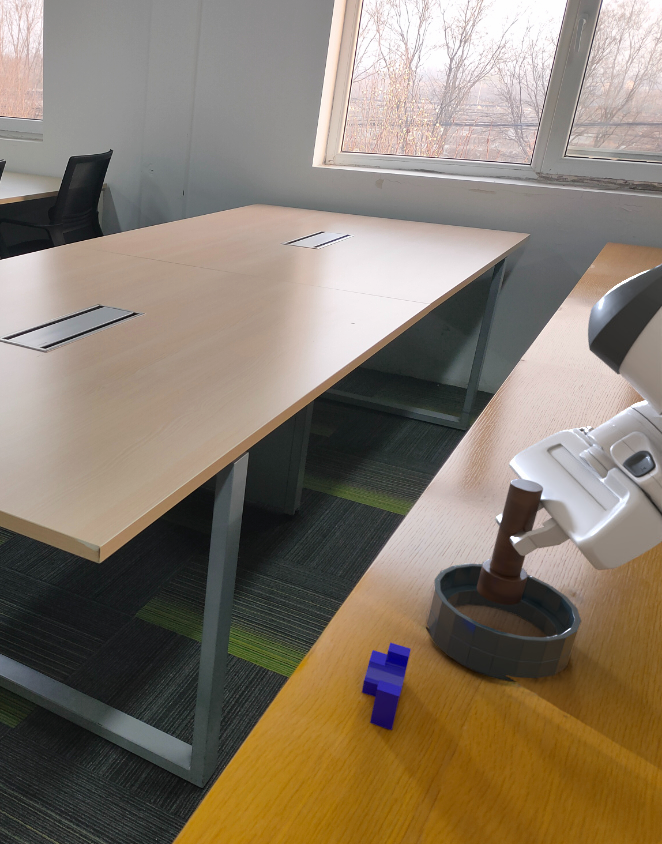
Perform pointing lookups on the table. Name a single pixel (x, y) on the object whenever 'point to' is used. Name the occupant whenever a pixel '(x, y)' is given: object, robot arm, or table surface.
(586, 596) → the table surface
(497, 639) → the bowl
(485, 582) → the pestle
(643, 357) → the robot arm
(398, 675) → the blue stepped block
